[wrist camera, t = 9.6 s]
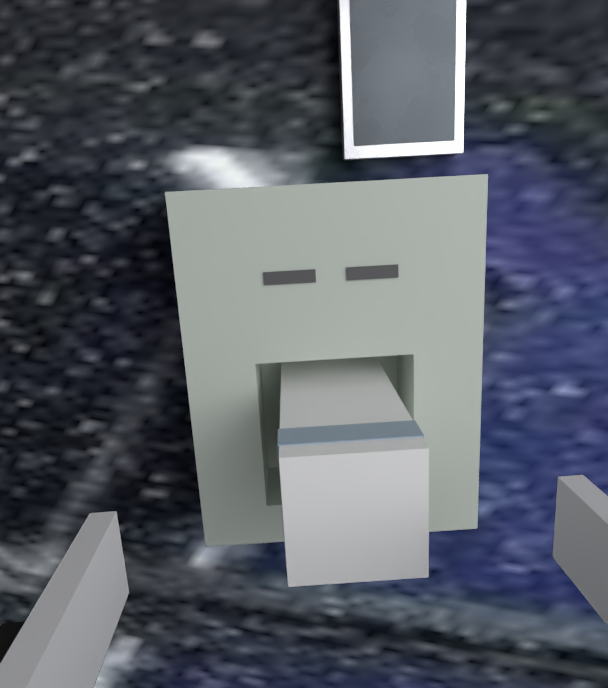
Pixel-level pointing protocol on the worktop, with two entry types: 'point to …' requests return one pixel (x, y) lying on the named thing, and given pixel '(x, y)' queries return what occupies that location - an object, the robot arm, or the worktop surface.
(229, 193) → the outlet plate
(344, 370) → the block
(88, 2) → the worktop surface
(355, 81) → the phone
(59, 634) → the robot arm
